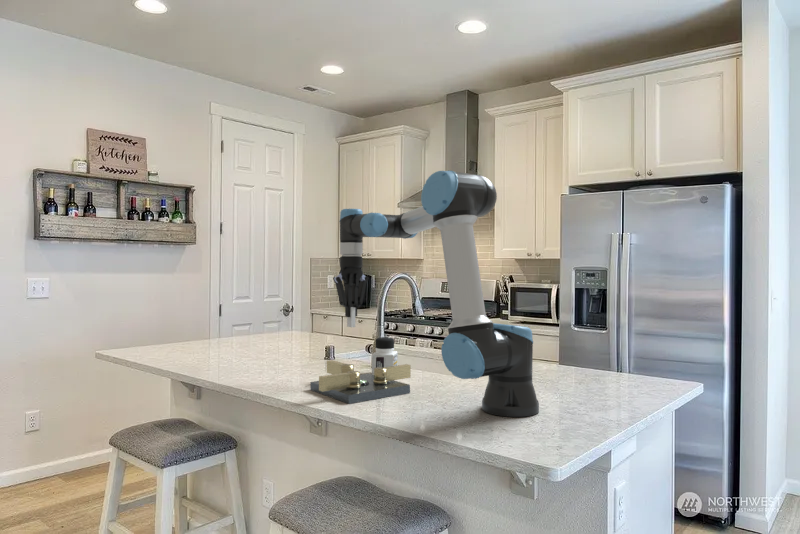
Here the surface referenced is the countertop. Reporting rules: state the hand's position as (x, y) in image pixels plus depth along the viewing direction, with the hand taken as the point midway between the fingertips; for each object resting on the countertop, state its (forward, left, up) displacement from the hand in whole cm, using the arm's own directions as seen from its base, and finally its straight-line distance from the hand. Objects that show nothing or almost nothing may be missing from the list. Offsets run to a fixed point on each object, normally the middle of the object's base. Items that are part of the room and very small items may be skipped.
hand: (351, 326), depth 194 cm
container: (+3, -16, -18) cm, 25 cm away
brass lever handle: (-3, +6, -15) cm, 17 cm away
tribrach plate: (-14, +6, -18) cm, 24 cm away
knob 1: (-18, +15, -15) cm, 28 cm away
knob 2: (-18, -3, -15) cm, 24 cm away
